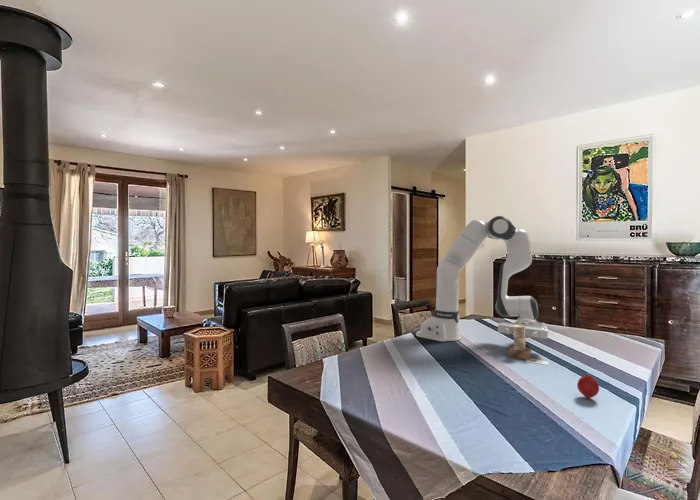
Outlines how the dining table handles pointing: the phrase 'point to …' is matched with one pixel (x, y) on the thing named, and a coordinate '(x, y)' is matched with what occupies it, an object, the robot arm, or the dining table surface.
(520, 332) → the pillar
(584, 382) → the red rounded piece
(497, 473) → the dining table surface
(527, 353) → the plinth
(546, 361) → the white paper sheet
